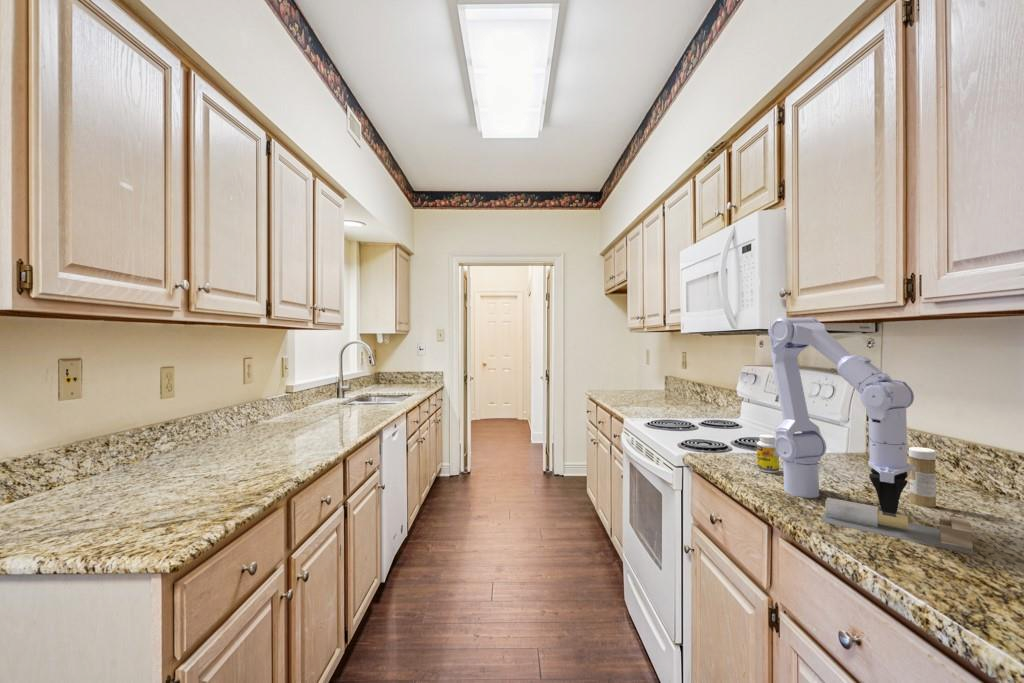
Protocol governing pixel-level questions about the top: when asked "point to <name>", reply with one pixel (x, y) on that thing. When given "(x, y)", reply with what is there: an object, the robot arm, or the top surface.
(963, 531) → the socket block
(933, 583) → the top surface
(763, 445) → the supplement bottle
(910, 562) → the top surface
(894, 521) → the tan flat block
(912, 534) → the base board
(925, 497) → the sprinkles bottle
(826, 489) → the top surface
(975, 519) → the top surface
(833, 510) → the outer sleeve
